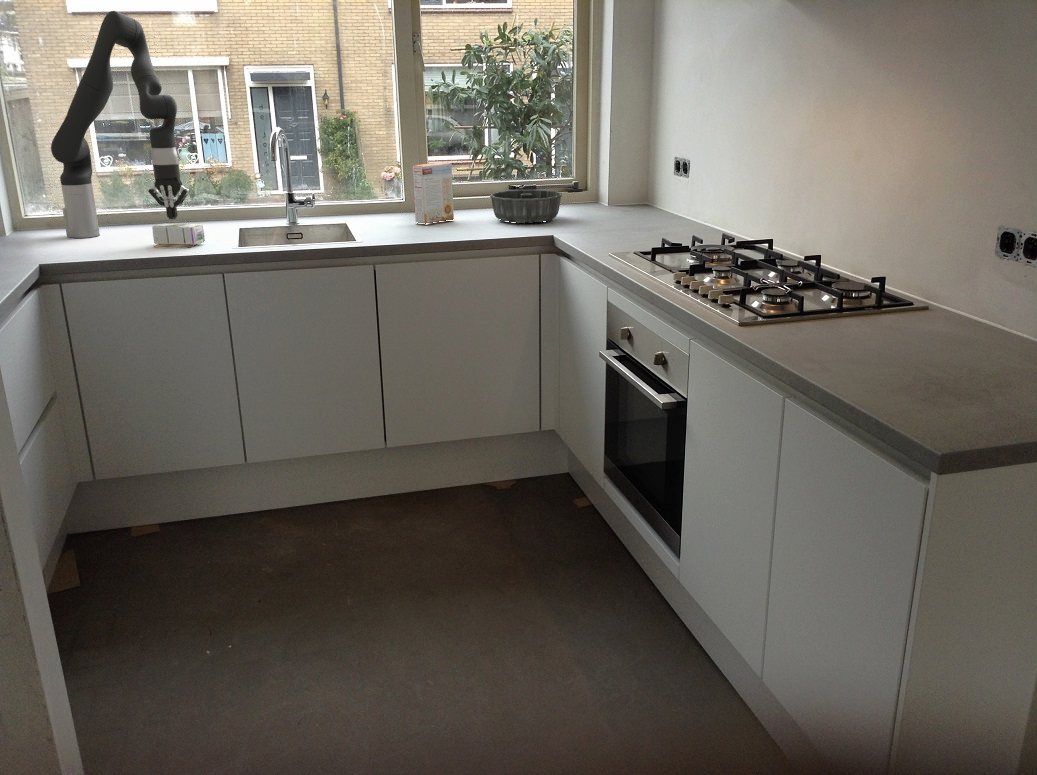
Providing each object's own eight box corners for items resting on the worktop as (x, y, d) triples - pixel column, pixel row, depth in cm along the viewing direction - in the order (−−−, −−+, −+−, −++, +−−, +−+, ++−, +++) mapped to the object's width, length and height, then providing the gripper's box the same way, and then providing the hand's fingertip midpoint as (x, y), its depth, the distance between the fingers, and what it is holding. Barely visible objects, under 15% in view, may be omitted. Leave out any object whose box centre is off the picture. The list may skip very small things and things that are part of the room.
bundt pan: (512, 229, 314) (512, 199, 311) (477, 219, 336) (477, 192, 332) (576, 222, 326) (576, 194, 323) (538, 214, 348) (538, 188, 345)
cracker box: (443, 219, 334) (441, 162, 328) (454, 221, 331) (452, 162, 324) (414, 224, 325) (411, 164, 318) (425, 225, 321) (422, 165, 314)
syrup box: (153, 244, 285) (196, 245, 282) (151, 225, 283) (194, 227, 280) (163, 241, 290) (205, 242, 287) (161, 222, 288) (203, 224, 285)
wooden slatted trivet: (153, 247, 282) (153, 245, 282) (170, 241, 293) (170, 239, 293) (189, 247, 281) (189, 246, 281) (205, 241, 292) (204, 239, 292)
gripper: (139, 163, 276) (147, 220, 282) (180, 163, 275) (188, 220, 281) (150, 161, 283) (157, 217, 289) (191, 161, 282) (198, 217, 288)
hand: (172, 218), depth 285 cm, fingers closed
